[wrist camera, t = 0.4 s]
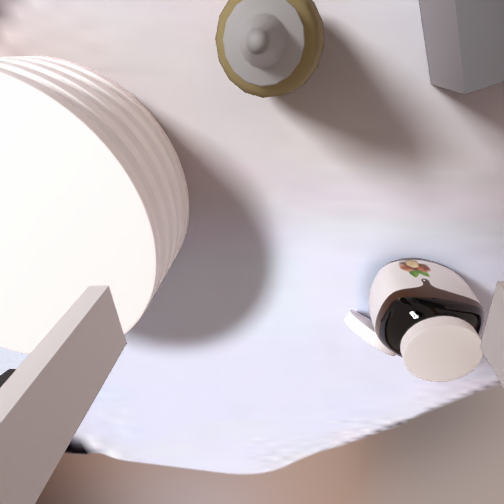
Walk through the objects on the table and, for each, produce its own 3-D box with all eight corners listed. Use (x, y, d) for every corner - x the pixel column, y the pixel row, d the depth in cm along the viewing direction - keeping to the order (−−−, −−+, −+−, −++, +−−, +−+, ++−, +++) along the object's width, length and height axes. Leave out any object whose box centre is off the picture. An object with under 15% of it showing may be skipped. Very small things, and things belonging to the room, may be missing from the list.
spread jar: (465, 261, 42) (519, 331, 32) (431, 338, 48) (467, 418, 37) (357, 246, 43) (376, 309, 32) (336, 324, 48) (346, 399, 38)
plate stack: (5, -17, 34) (-117, -43, 24) (240, 189, 41) (222, 236, 31) (-84, 196, 46) (-191, 239, 36) (110, 328, 53) (67, 394, 43)
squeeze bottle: (340, 46, 33) (378, 49, 18) (270, 110, 37) (250, 159, 21) (282, -38, 31) (266, -121, 15) (212, 38, 34) (140, 33, 18)
